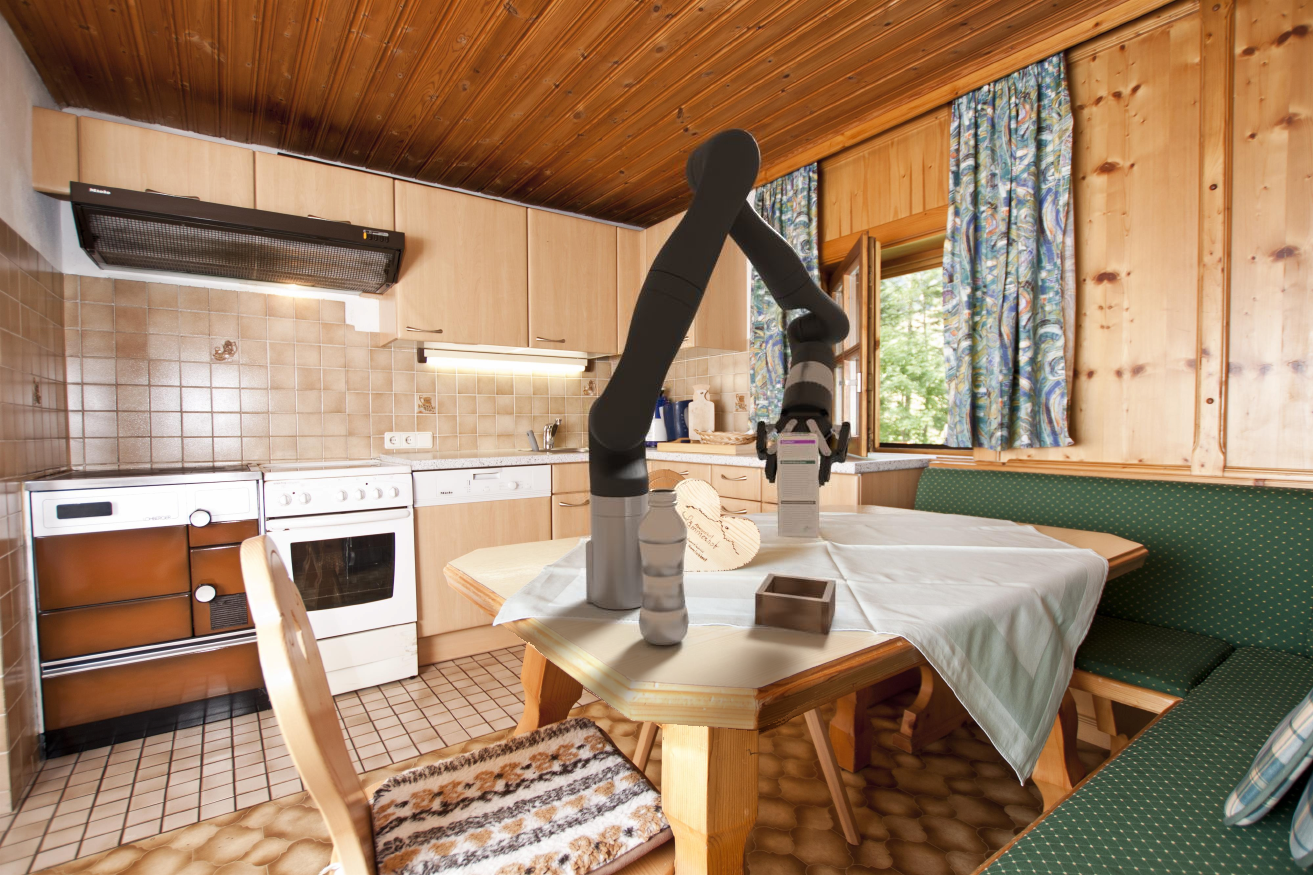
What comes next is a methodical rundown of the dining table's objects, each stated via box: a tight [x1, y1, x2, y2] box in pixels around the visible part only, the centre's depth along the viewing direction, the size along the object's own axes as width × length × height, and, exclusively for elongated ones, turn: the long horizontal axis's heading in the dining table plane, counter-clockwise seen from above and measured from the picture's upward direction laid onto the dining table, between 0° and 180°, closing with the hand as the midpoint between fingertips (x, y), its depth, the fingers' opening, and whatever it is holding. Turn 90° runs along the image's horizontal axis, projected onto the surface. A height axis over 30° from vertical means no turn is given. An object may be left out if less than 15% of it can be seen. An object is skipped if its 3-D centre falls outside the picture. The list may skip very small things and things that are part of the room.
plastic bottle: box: [638, 488, 690, 646], centre depth 76 cm, size 6×7×20 cm
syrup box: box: [776, 432, 820, 539], centre depth 83 cm, size 6×6×14 cm
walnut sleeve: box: [754, 573, 837, 636], centre depth 85 cm, size 10×10×4 cm
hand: (796, 480), depth 82 cm, fingers closed on syrup box, 6 cm apart
